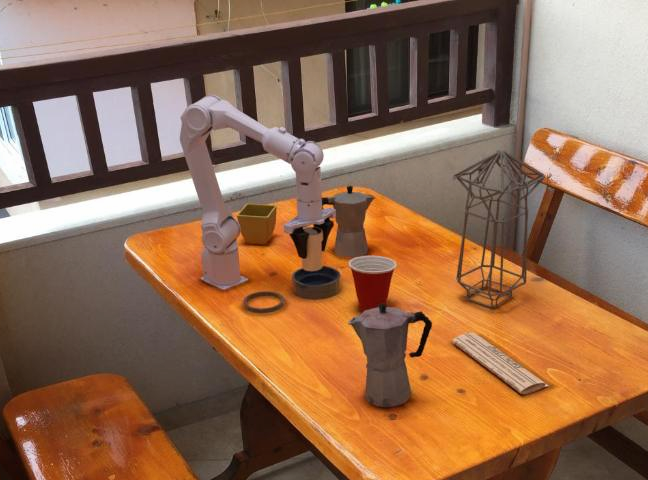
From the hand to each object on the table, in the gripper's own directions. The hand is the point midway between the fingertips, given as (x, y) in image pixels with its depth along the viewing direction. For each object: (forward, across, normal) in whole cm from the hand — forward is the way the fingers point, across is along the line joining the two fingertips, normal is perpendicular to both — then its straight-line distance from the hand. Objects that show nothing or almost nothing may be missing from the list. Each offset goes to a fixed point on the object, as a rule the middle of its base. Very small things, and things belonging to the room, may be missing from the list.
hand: (311, 253), depth 202 cm
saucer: (+10, -13, +3) cm, 17 cm away
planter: (+10, +1, 0) cm, 10 cm away
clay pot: (+3, 0, 0) cm, 3 cm away
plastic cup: (+10, +3, -17) cm, 20 cm away
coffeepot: (+10, +22, +11) cm, 26 cm away
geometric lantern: (+10, +26, -33) cm, 43 cm away
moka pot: (+10, -21, -45) cm, 51 cm away
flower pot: (+10, +11, +34) cm, 37 cm away
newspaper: (+10, +3, -53) cm, 54 cm away
